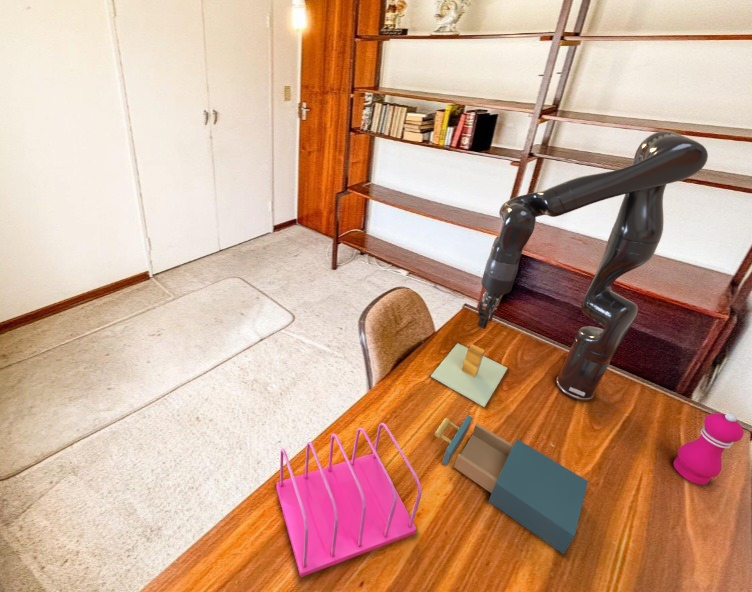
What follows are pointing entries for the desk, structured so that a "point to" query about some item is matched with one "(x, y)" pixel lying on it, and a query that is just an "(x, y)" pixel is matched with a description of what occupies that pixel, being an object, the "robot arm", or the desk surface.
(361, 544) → the file sorter
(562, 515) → the cabinet
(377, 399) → the desk surface
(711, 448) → the pepper mill
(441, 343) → the desk surface
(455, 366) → the mat
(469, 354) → the block
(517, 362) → the desk surface
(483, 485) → the drawer
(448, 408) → the desk surface
